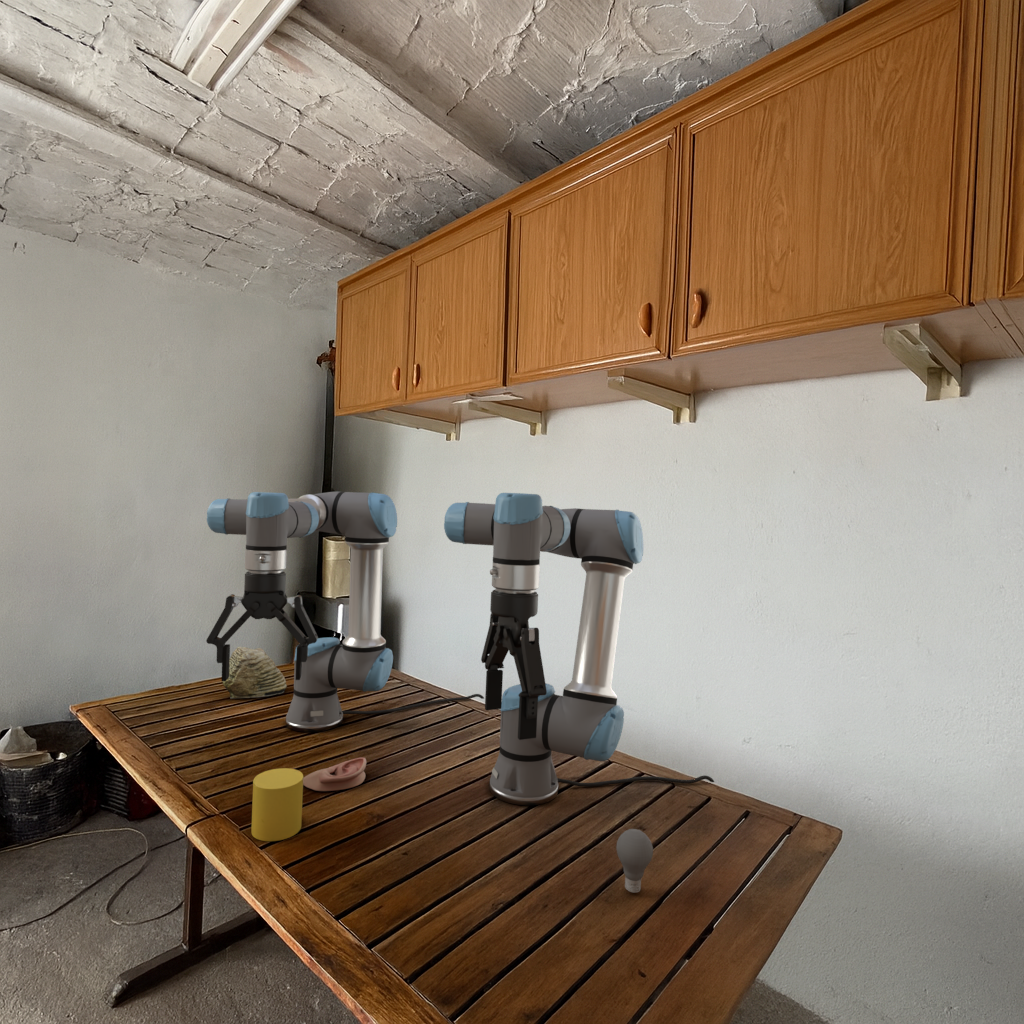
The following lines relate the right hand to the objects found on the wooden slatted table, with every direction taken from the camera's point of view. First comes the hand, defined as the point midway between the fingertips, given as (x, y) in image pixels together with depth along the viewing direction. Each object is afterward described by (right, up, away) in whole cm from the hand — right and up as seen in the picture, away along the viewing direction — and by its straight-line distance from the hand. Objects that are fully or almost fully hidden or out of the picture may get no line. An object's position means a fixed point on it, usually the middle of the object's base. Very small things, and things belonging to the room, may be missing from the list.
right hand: (508, 722), depth 101 cm
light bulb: (+21, -30, +5) cm, 36 cm away
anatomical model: (-39, -27, +40) cm, 62 cm away
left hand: (-49, +1, +23) cm, 54 cm away
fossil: (-80, -24, +97) cm, 128 cm away
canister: (-44, -27, +19) cm, 55 cm away
